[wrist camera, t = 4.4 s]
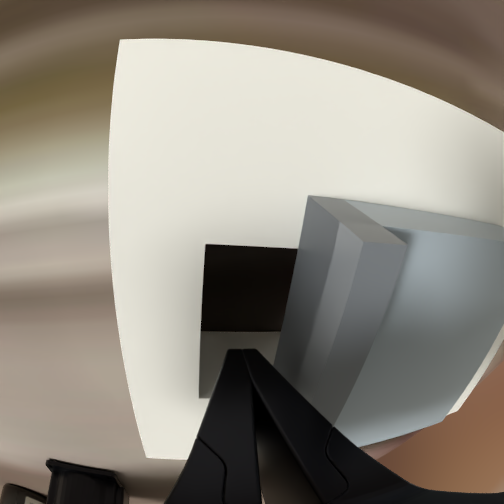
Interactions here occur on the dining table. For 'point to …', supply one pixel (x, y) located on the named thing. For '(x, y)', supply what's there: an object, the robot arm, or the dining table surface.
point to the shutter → (389, 314)
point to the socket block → (256, 192)
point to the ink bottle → (20, 496)
